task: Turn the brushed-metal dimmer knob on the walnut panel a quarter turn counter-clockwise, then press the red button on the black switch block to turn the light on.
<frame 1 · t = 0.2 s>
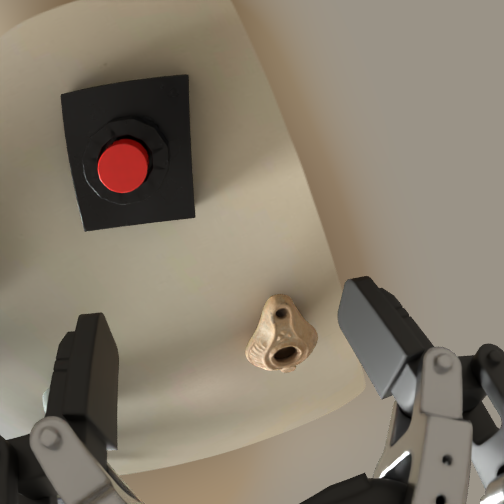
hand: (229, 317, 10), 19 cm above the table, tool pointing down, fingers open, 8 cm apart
switch block: (131, 150, 24), on the table
light button: (123, 165, 20), point 4 cm above the table, slide at 0.1 cm
pottery oil lamp: (277, 317, 39), on the table
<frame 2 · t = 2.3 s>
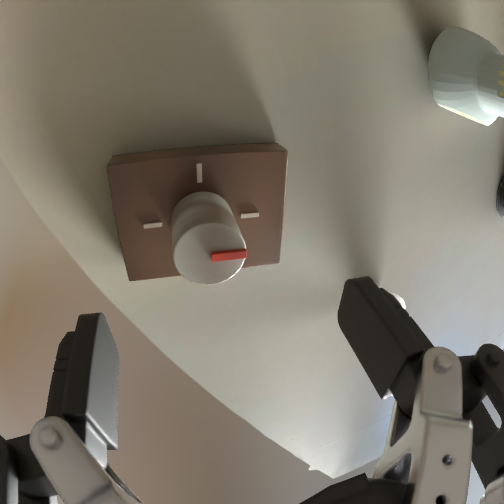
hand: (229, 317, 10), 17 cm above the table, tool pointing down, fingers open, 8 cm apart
dimmer panel: (198, 205, 25), on the table
dimmer knob: (205, 237, 21), point 5 cm above the table, hinge at 0.0°
air freshener: (448, 72, 23), on the table
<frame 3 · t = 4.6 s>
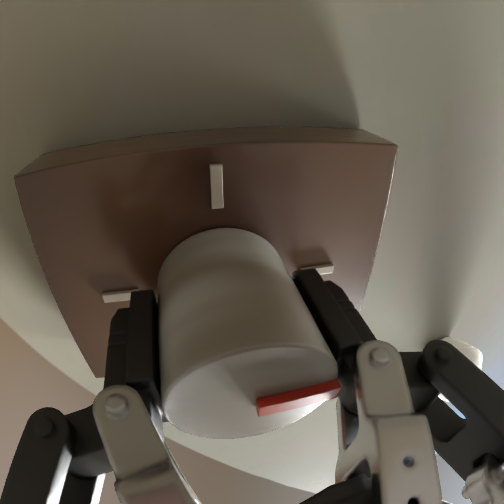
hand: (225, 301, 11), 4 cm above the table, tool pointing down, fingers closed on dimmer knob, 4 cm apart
dimmer panel: (212, 246, 13), on the table
dimmer knob: (235, 337, 9), point 5 cm above the table, hinge at 0.0°, touching gripper
muffin: (436, 347, 25), on the table
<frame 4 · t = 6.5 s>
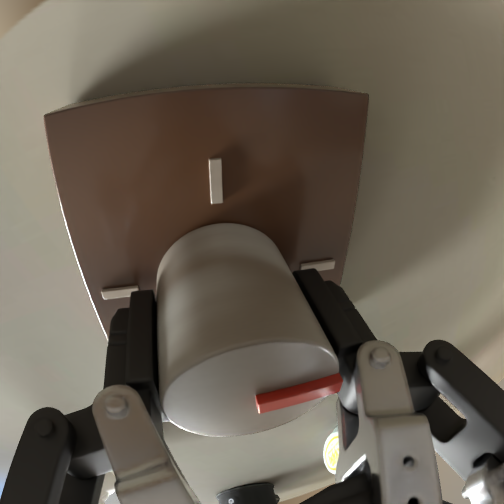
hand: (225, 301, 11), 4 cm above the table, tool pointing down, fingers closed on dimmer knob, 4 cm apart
dimmer panel: (212, 242, 13), on the table
dimmer knob: (235, 333, 9), point 5 cm above the table, hinge at 93.2°, touching gripper
air freshener: (357, 420, 30), on the table
milk frother: (251, 492, 41), on the table
muffin: (85, 445, 22), on the table
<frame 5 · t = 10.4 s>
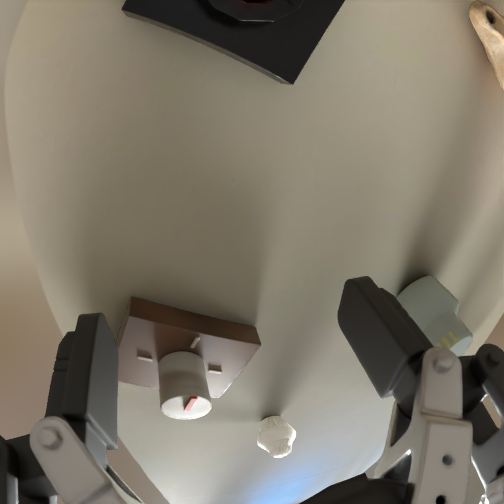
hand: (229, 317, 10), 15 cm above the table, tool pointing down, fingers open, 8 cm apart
dimmer panel: (179, 346, 31), on the table
dimmer knob: (183, 387, 27), point 5 cm above the table, hinge at 92.1°
air freshener: (410, 298, 37), on the table
pottery oil lamp: (486, 40, 19), on the table
muffin: (270, 418, 45), on the table
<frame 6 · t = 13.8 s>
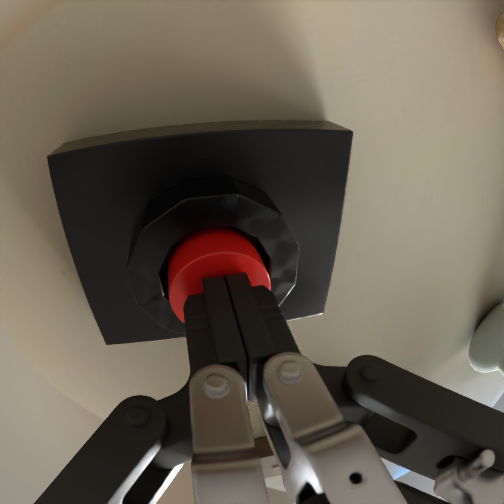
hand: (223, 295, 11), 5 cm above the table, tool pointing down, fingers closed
switch block: (204, 227, 15), on the table
dimmer panel: (301, 442, 34), on the table
light button: (217, 281, 12), point 4 cm above the table, slide at -0.2 cm, touching gripper
air freshener: (487, 320, 31), on the table
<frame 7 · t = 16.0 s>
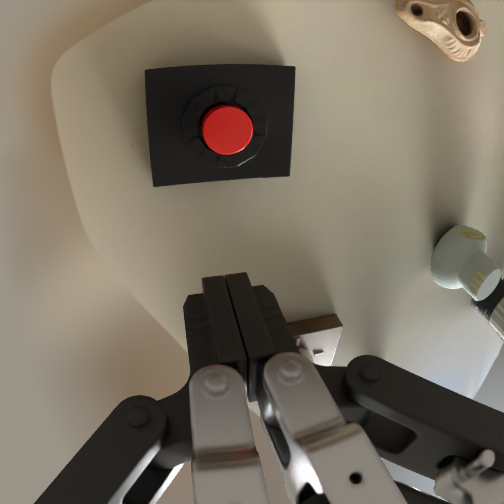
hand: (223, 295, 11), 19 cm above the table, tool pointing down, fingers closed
switch block: (219, 119, 26), on the table
dimmer panel: (289, 345, 44), on the table
light button: (226, 128, 22), point 4 cm above the table, slide at 0.1 cm
dimmer knob: (300, 373, 40), point 5 cm above the table, hinge at 92.1°
air freshener: (447, 245, 42), on the table
pottery oil lamp: (425, 16, 22), on the table
milk frother: (495, 281, 53), on the table
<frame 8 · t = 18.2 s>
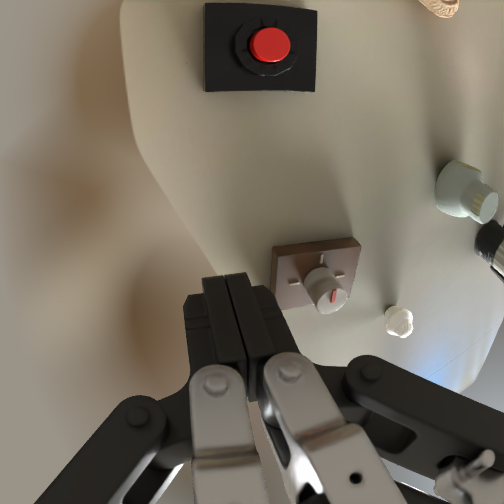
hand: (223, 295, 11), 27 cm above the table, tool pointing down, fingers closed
switch block: (258, 47, 29), on the table
dimmer panel: (311, 269, 48), on the table
light button: (269, 44, 25), point 4 cm above the table, slide at 0.1 cm
dimmer knob: (325, 290, 43), point 5 cm above the table, hinge at 92.1°
air freshener: (447, 181, 45), on the table
milk frother: (495, 231, 56), on the table
muffin: (390, 310, 59), on the table
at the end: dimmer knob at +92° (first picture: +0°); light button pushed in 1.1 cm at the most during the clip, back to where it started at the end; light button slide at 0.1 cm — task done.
